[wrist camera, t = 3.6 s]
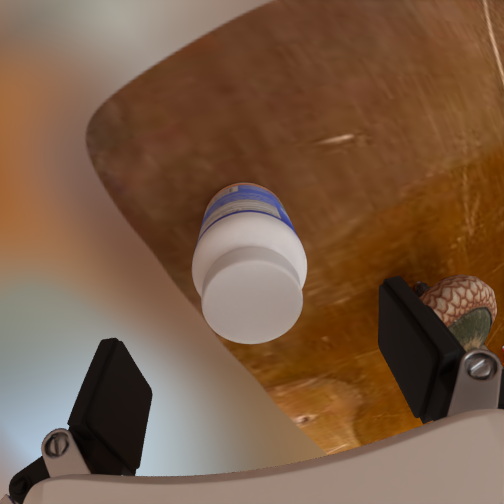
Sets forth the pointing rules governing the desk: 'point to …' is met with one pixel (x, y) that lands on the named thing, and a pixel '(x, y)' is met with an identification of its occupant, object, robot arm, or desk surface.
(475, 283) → the acorn
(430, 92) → the desk surface
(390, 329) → the robot arm
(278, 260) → the pill bottle
